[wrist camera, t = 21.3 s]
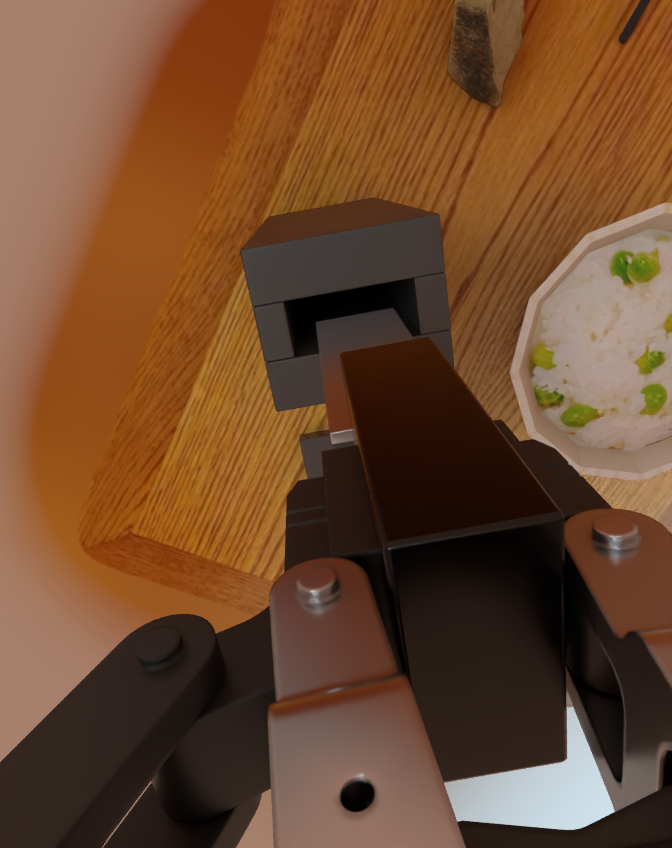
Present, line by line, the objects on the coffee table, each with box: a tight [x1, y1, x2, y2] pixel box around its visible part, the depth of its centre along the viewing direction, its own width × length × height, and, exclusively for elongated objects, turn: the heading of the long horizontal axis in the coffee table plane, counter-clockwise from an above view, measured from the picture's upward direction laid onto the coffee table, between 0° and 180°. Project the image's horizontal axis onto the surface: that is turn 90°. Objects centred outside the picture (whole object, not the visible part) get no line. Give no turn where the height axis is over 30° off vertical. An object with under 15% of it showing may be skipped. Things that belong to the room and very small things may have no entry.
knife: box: [316, 308, 567, 782], centre depth 15 cm, size 3×4×17 cm
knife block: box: [240, 198, 454, 412], centre depth 35 cm, size 8×7×22 cm
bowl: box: [510, 202, 672, 481], centre depth 44 cm, size 19×19×10 cm
